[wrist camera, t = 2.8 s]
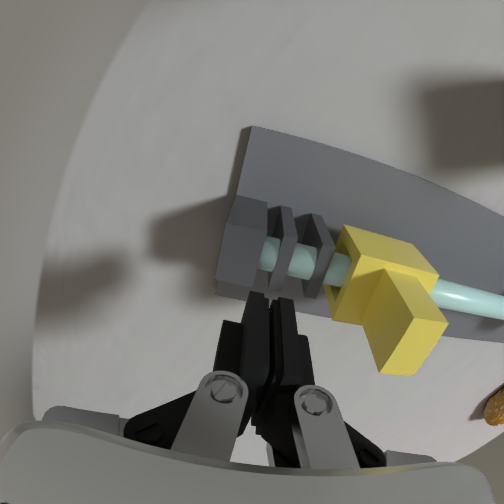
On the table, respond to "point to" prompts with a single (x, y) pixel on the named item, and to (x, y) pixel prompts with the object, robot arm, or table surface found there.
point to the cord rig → (360, 216)
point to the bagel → (495, 409)
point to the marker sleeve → (388, 299)
